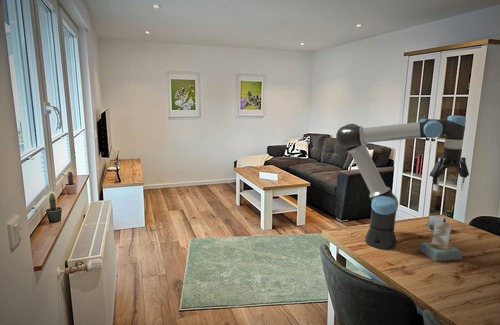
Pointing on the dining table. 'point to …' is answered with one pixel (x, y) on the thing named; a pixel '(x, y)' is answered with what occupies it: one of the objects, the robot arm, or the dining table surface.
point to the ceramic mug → (434, 221)
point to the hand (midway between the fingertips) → (447, 190)
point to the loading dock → (439, 252)
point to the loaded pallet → (441, 236)
